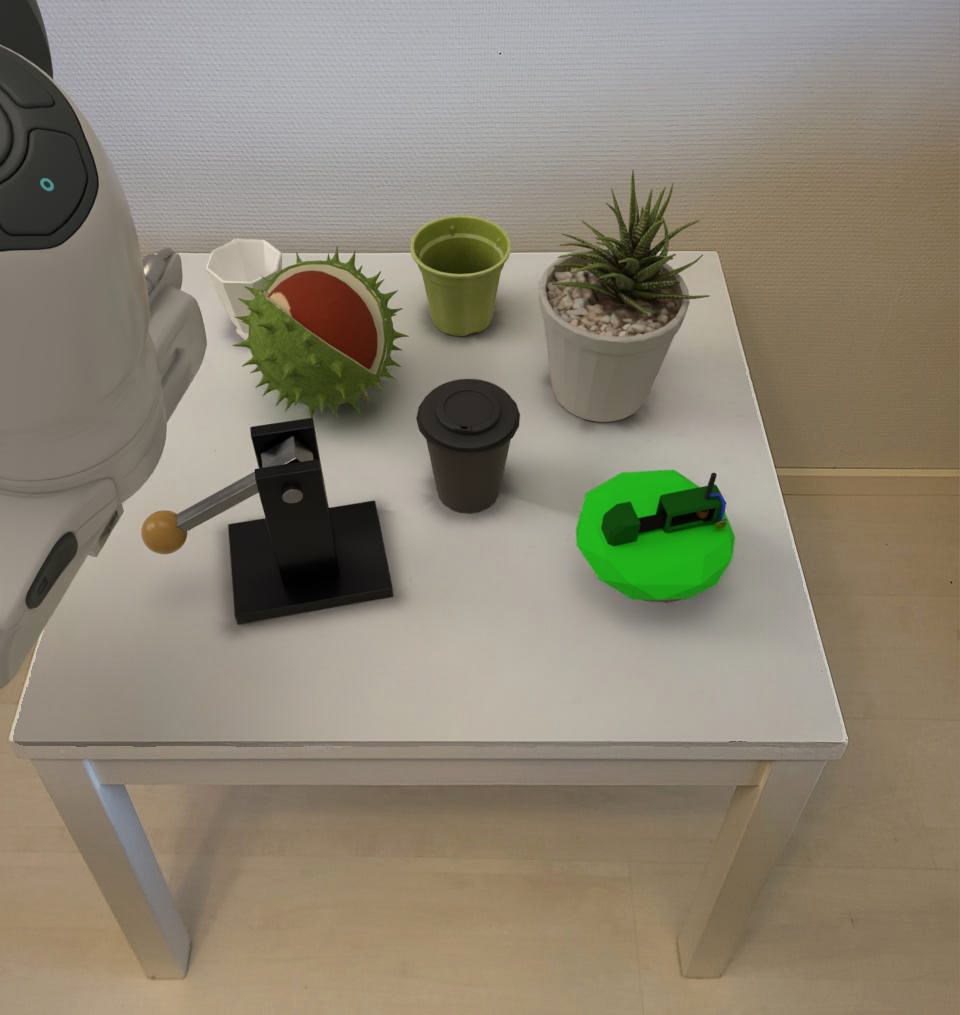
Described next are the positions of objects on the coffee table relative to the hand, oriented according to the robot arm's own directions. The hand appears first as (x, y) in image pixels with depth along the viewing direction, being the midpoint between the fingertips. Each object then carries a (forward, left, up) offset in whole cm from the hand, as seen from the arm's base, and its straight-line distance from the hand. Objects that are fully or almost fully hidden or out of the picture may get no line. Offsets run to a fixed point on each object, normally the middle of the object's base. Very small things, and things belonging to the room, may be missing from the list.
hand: (96, 529), depth 52 cm
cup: (+8, +42, -22) cm, 48 cm away
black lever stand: (+10, +11, -22) cm, 26 cm away
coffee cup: (+24, +16, -22) cm, 36 cm away
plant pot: (+28, +38, -22) cm, 52 cm away
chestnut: (+14, +30, -22) cm, 40 cm away
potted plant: (+39, +25, -22) cm, 51 cm away
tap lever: (+6, +11, -14) cm, 19 cm away
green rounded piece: (+36, +5, -22) cm, 42 cm away
